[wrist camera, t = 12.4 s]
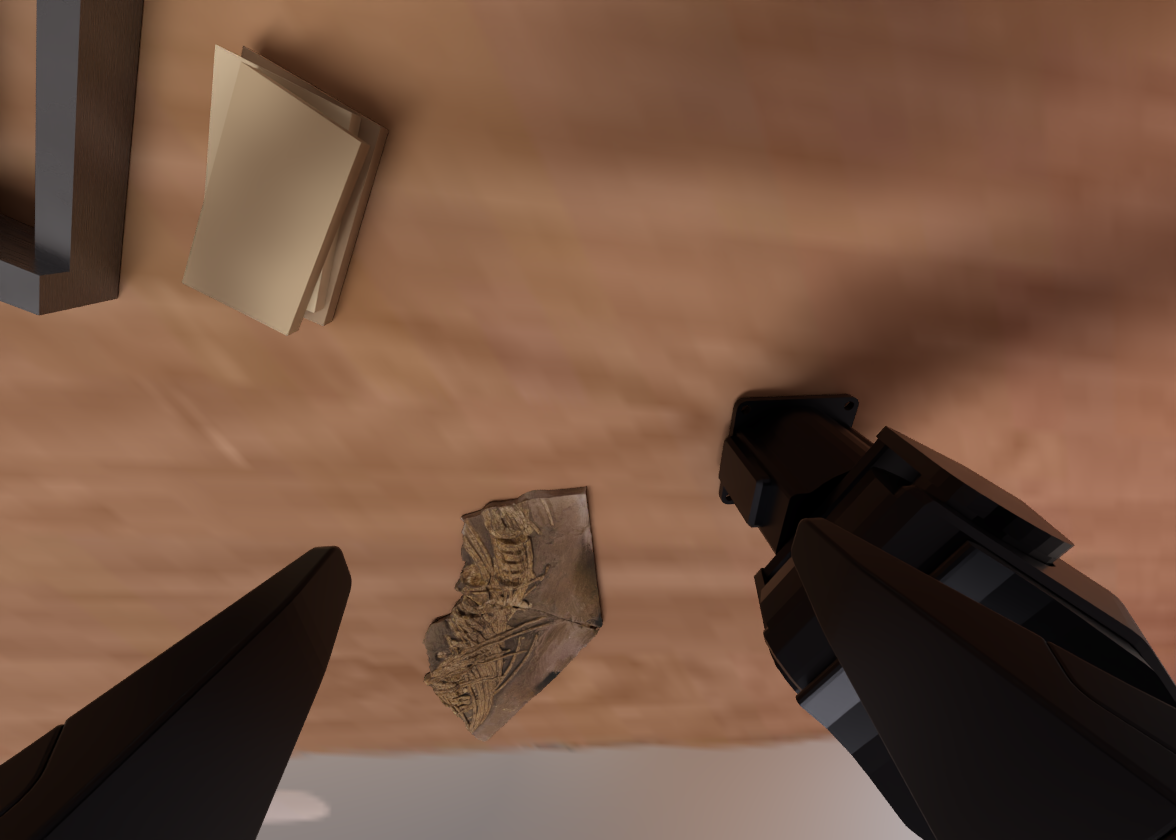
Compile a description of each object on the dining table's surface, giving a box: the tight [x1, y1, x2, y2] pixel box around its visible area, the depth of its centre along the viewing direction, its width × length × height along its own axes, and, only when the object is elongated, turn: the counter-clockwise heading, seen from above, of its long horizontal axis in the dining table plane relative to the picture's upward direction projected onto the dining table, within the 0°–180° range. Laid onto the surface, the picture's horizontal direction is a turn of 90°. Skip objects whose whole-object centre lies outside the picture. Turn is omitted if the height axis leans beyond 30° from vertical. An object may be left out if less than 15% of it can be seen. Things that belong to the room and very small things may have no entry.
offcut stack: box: [182, 44, 389, 336], centre depth 15 cm, size 5×8×2 cm, turn 151°
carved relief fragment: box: [423, 486, 603, 741], centre depth 28 cm, size 26×11×1 cm, turn 159°
